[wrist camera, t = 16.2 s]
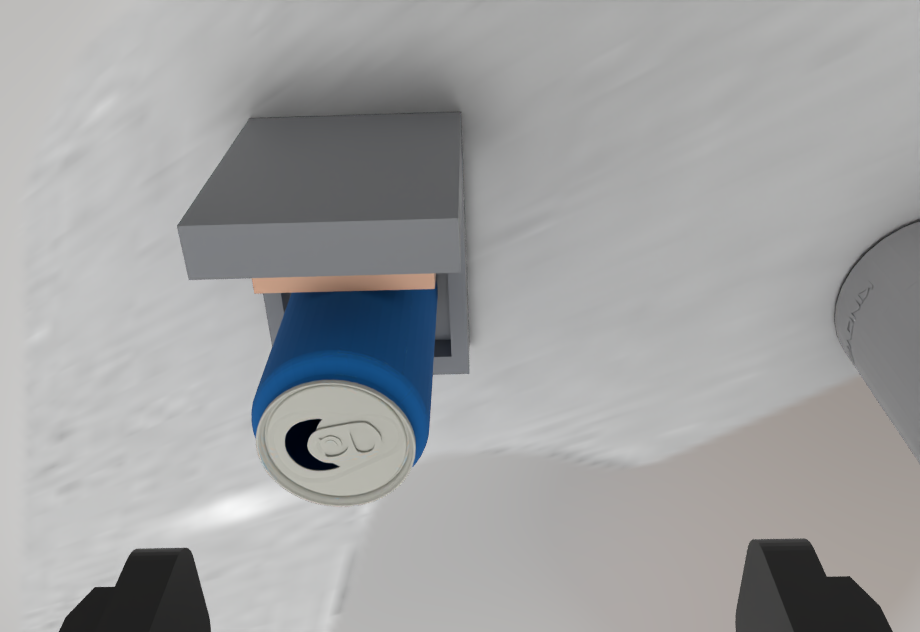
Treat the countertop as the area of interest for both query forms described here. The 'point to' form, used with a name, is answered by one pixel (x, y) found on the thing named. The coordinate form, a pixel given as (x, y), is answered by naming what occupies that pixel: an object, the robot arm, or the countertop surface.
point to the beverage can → (347, 393)
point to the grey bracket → (340, 210)
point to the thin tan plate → (344, 283)
